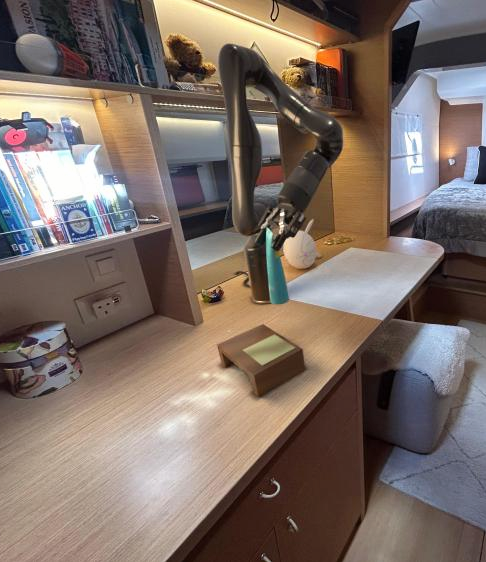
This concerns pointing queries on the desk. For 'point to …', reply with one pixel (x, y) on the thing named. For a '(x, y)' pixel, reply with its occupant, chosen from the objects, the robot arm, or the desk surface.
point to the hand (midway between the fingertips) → (266, 246)
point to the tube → (275, 273)
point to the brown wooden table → (263, 357)
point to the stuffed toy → (301, 249)
